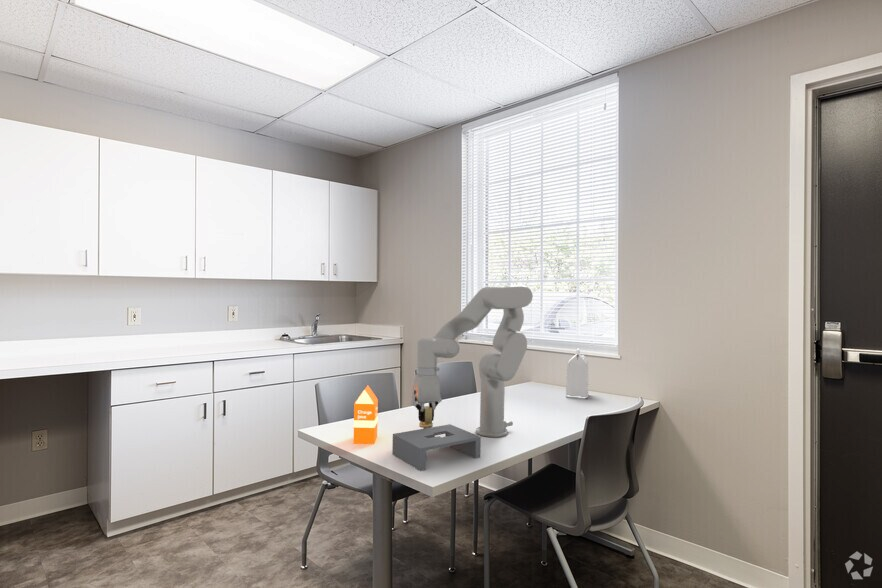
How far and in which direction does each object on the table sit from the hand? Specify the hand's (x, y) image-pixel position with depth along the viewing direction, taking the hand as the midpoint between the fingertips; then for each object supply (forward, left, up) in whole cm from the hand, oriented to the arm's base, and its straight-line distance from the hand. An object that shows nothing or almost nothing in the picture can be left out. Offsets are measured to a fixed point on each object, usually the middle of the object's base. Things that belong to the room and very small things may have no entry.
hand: (426, 420), depth 180 cm
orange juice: (+19, -12, -8) cm, 24 cm away
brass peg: (0, 0, -8) cm, 8 cm away
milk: (-115, -25, -8) cm, 118 cm away
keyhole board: (+6, +16, -8) cm, 19 cm away
